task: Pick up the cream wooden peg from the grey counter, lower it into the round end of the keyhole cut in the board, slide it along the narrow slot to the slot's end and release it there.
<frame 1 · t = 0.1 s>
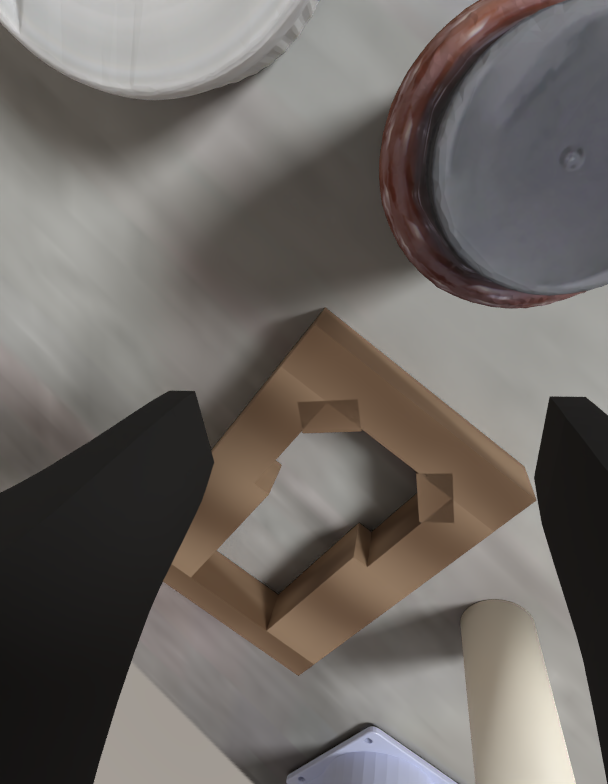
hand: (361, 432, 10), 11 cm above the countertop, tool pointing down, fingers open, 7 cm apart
cream peg: (496, 625, 25), on the countertop
supplement bottle: (478, 160, 17), on the countertop
keyhole board: (314, 500, 24), on the countertop
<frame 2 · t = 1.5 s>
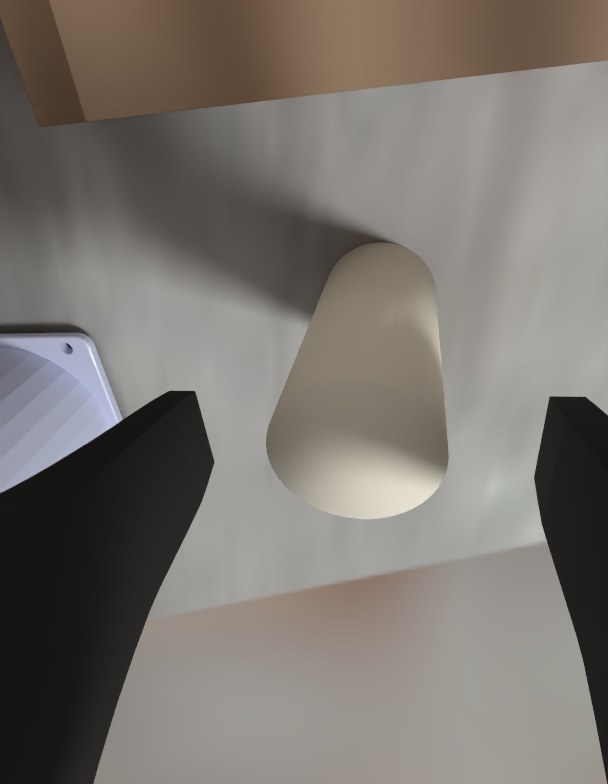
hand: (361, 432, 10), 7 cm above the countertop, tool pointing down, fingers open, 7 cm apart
cream peg: (379, 296, 16), on the countertop
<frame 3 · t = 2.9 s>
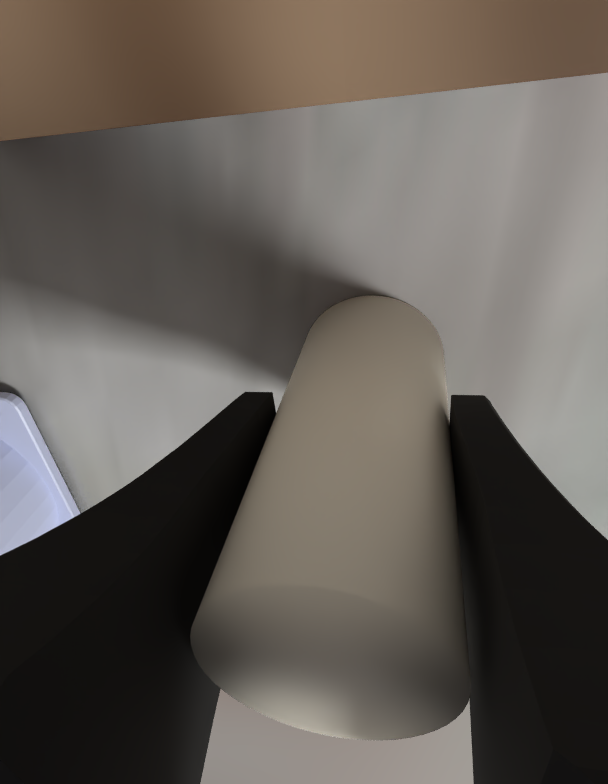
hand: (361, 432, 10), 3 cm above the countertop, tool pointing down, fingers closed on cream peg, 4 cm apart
cream peg: (372, 360, 13), on the countertop, touching gripper
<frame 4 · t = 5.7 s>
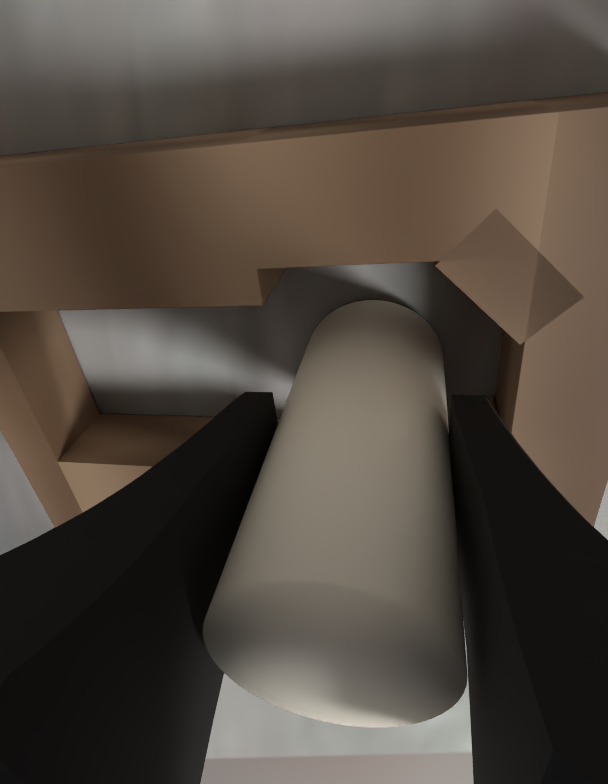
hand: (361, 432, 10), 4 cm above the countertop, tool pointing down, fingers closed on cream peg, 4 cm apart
cream peg: (373, 362, 13), resting in keyhole board, touching gripper
keyhole board: (280, 350, 14), on the countertop
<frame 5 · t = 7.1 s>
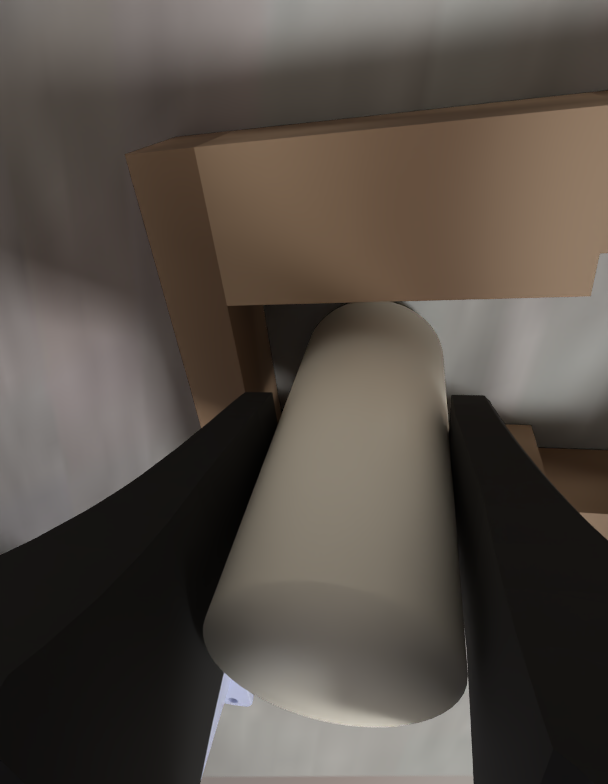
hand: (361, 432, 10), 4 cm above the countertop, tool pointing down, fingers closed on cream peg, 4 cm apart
cream peg: (373, 362, 13), resting in keyhole board, touching gripper
keyhole board: (522, 348, 13), on the countertop
when the fingers open (4 cm above the countertop, at t = 8.4 s): cream peg stays where it is, resting in keyhole board.
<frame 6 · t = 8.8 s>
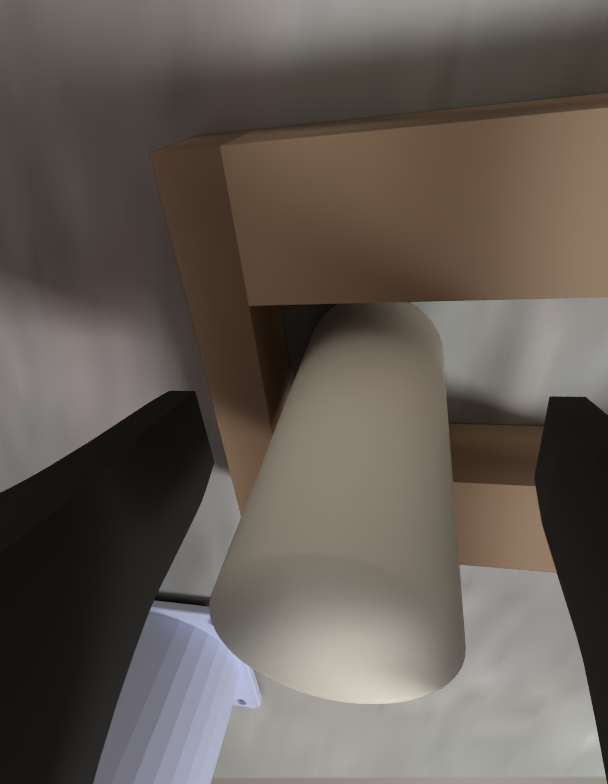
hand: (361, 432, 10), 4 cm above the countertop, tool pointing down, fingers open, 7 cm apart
cream peg: (374, 356, 13), resting in keyhole board
keyhole board: (542, 349, 12), on the countertop
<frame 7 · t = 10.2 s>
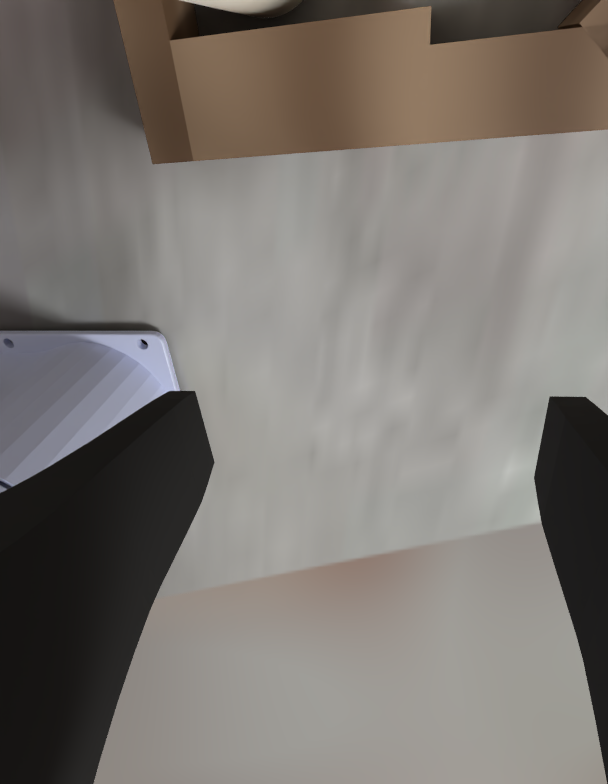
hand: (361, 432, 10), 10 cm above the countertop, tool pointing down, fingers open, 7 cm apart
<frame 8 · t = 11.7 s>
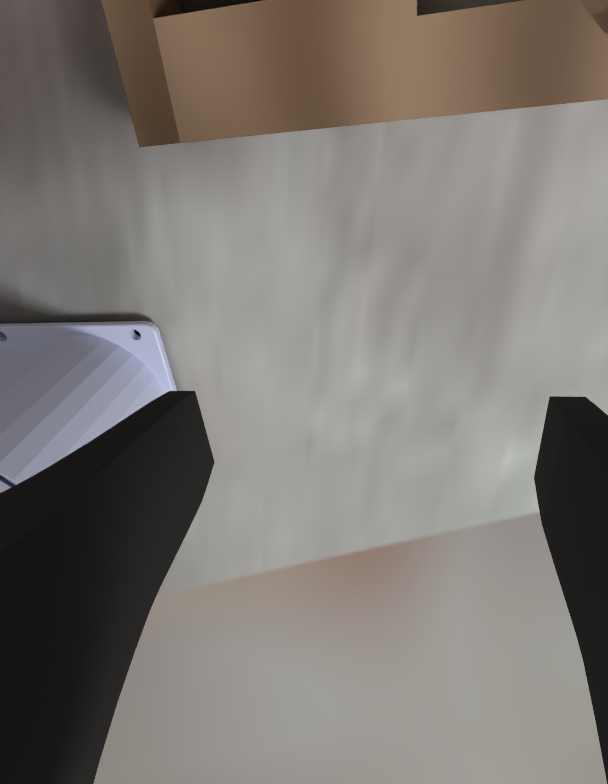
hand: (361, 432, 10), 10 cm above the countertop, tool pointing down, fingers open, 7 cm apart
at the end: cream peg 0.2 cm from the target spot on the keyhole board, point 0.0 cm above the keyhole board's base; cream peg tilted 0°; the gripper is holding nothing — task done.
